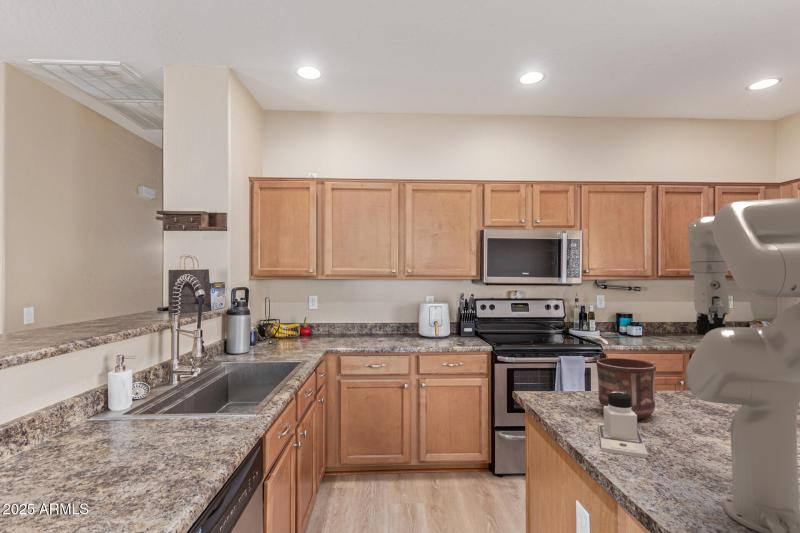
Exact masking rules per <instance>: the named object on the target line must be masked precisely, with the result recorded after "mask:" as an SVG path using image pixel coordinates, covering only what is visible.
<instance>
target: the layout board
mask: <svg viewBox="0 0 800 533" xmlns="http://www.w3.org/2000/svg"><path fill="white" fill-rule="evenodd" d="M597 425H598V426H597V427H598V432H599V433H598V434H599V442H600V446H601V452H604V453H612V454H617V455H624V456H631V457H635V458H636V457H637V458H643V459H649V453H648V451H647V448H646V446H645V443H644V440H643V438H642V436H641V433H640V430H639V429H638V440H631V439H616V438H611V437H610V436H609V434H608V433H607V432H606V430H605V429H604V422H597Z"/></svg>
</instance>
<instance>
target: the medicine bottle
mask: <svg viewBox="0 0 800 533" xmlns="http://www.w3.org/2000/svg"><path fill="white" fill-rule="evenodd" d="M631 409H632V406H631V396H630V395H628V394H626V393H622V392H611V393H609V394H608V406H604V409H603V423H604V429H605V430H606V432H607V433H608V434H609V436H610V437H611V438H616V439H631V440H638V430H639V426H638V423H639V421H637V415H636V414H635V413H634V412H633V411H632V410H631Z"/></svg>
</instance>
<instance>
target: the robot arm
mask: <svg viewBox="0 0 800 533" xmlns="http://www.w3.org/2000/svg"><path fill="white" fill-rule="evenodd" d="M687 231H688V233H687V234H688V235H687V236H688V237H687V238H688V256H689V257H688V258H689V259H688V261H689V276H693V279H694V280H693V295H694V296H693V297H694V299H693V300H694V303H693V304H694V310H695V311H696V334H697V335H698V336H699V335H701V336H703V337H702V339H701V340H700V342H699V344H698V345H697V347H696V349H695V350H694V351H693V353H692V356H691V358H690V359H689V361H688V363H687V366H686V371H685V381H686V382H685V383H686V385H687V388H688V390H689V391H690V393H692V395H693V396H694V397H695V398H697V399H699V400H700V401H703V402H707V403H715V404H727V405H739V406H740V405H741V406H740V407H739V408H738V409H737V410H736V411H735V413H734V415H733V417H732V419H731V422H730V447H731V448H730V449H731V473H732V474H731V475H732V496H727V497H726V498H725V499H724V500H723V508H724V512H726V514H727V515H728V516H729V517H730V518H732V519H733V520H735V521H736V522H738V524H740V525H743V526H744V527H746V528H748V529H751V530H753V531H755V532H758V533H800V488H799V467H798V466H799V465H798V464H799V463H798V435H797V434H798V433H797V429H798V428H797V426H798V425H797V424H798V414H799V412H798V411H799V406H800V301H799V302H797V303H795V304H793V305H791V306H789V307H787V308H785V309H784V310H783V311H782V312H780V313H779V314H778V315H777V316H776V317H775V318H774V320H773V321H772V322H771V323H770V324H769V325H767V326H758V327H757V326H756V327H754V326H753V327H747V326H746V327H745V326H743V327H742V326H741V327H739V326H736V327H735V326H726V318H725V317H726V316H727V315H728V316H729V314H730V301H729V300H730V299H729V293H728V292H729V290H728V283H727V279H726V276H727V275H728V274H729V273H728V270H729V272H730V274H731V276H732V278H733V280H734V282H735V284H736V285H737V287H738V288H739V289H740V290H741V291H743V293H746V294H748V295H750V296H753V297H759V298H800V198H798V197H797V198H796V197H794V198H793V197H792V198H791V197H787V198H784V197H783V198H769V199H768V198H767V199H754V200H752V199H751V200H740V201H739V200H738V201H733V202H729V203H727V204H724V205H723V206H722V207H721V208H720V209H719V210H718V211H717V212H716V213H715V215H704V216H701V217H698V218H697V219H696V220H695V221H693V222H691V223H690V224H689V225H688V229H687Z"/></svg>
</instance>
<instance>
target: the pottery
mask: <svg viewBox="0 0 800 533" xmlns="http://www.w3.org/2000/svg"><path fill="white" fill-rule="evenodd" d="M595 362H596V369H597V371H596V372H597V382H598V385H597V386H598V387H597V388H598V391H597V392H598V393H597V394H598V401H599V404H600V406H601V408H602V410H604V406H608V394H609V393H611V392H622V393H626V394H628V395H630V396H631V406H632V409H631V410H632V411H633V412H634V413H635V414H636V415H637V421H638V422H641V421H645V420H646V419H647V418H649V417H650V416H652V414H653V413H654V411H655V409H656V408H655V407H656V393H655V385H656V384H655V382H656V379H655V378H656V372H657V370H656V369H657V367H656V366H657V365H656V364H655V363H653V362H650V361H646V360H642V359H641V360H640V359H635V358H628V357H625V358H623V357H605V358H604V357H603V358H599V359H597V360H596V361H595Z"/></svg>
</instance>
